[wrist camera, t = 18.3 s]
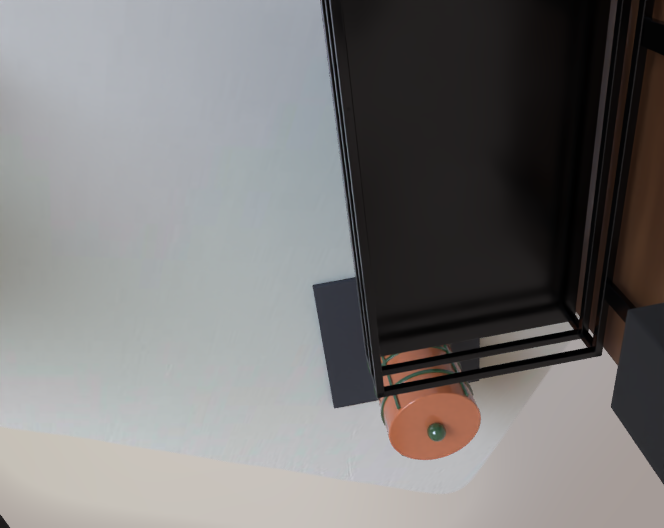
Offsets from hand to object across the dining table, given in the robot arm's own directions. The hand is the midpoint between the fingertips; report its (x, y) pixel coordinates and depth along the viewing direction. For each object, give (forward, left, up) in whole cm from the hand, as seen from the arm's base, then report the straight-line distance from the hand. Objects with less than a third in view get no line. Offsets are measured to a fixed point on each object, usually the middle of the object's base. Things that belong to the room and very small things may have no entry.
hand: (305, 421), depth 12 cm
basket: (+10, -4, -17) cm, 20 cm away
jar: (+7, -22, -27) cm, 35 cm away
